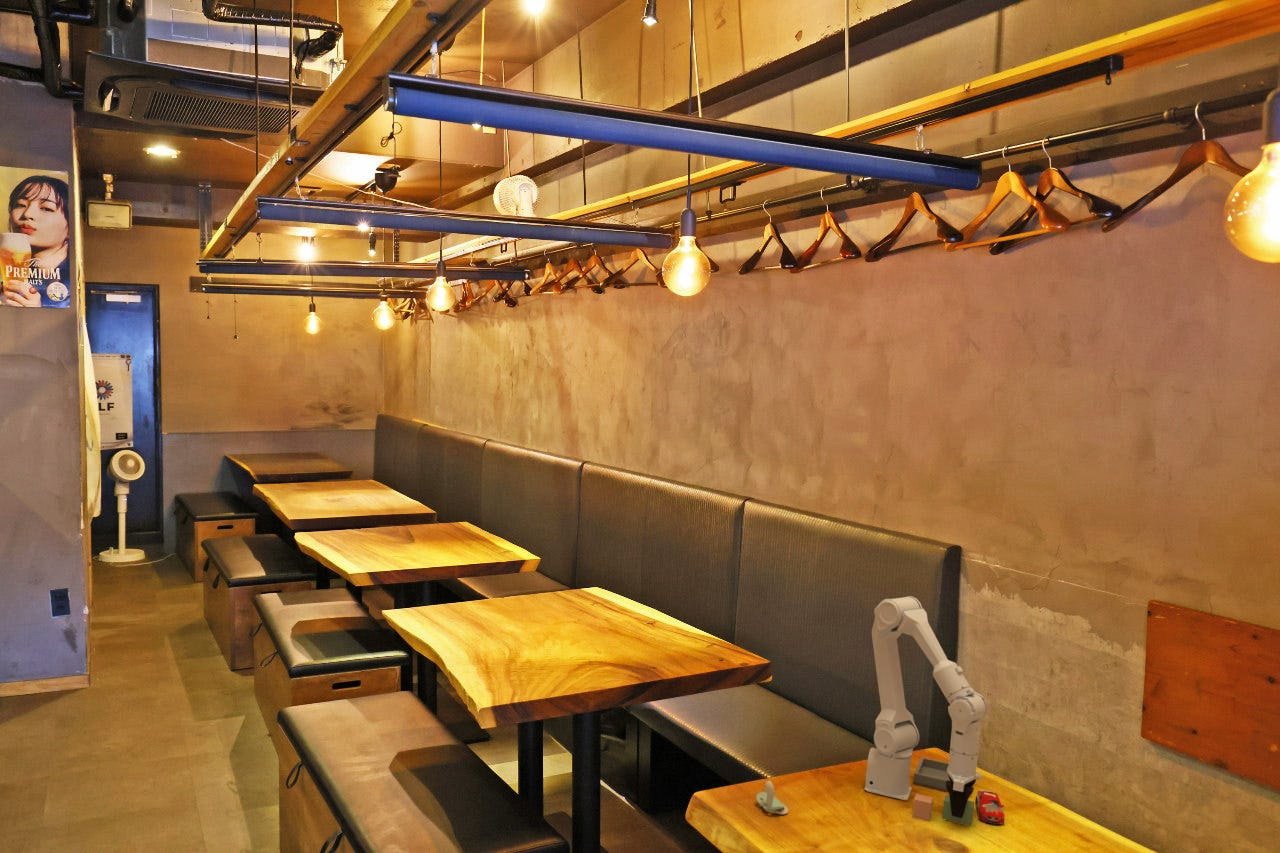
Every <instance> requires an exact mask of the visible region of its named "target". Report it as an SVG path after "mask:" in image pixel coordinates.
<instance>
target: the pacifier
mask: <svg viewBox="0 0 1280 853" xmlns="http://www.w3.org/2000/svg"><path fill="white" fill-rule="evenodd" d="M764 790H765V791H760V792H758V793H757V794H756V801H757V803H758V805H760V806H761V807H763V808H762V809H763V810H764V811H766V812H768V813H770V814H778V815H786V814H788V813H789V809H788V807H787V806H786V805H785V804H783V803H782V802H781V801H780V800H779V799H778V798H776V797H775V795H776V792H775V787H774V784H773V783H772V781H771V780H767V781H766V782H765V784H764ZM780 809H781V810H780Z"/></svg>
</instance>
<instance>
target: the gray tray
mask: <svg viewBox="0 0 1280 853" xmlns="http://www.w3.org/2000/svg"><path fill="white" fill-rule="evenodd" d="M948 764H949V762H946V761H943V760H941V761H940V760H936V759H932V758H928V757H923V756H921V757H920V758H919V761H918V763H917V766H916V768H915V770H914V772H913V777H912V778H913V779H912V780H913V781H912V784H913V785H915V786H920V787H925V788H929V789H931V790H932V789H933V790H937V791H942V792H946V793H948V790H947V788H946V781H947V780H948V781H950V779H949V776H948V775H949V774H948V773H947V767H948Z"/></svg>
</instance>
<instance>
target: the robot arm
mask: <svg viewBox="0 0 1280 853" xmlns="http://www.w3.org/2000/svg"><path fill="white" fill-rule="evenodd" d="M873 611H874V612H873V613H874V622H873V624H872V628H871V637H872V638H871V639H872V647H873V653H874V655H873V657H874V663H875V670H876V678H877V685H878V693H879V695H878V696H879V702H880V712H879V714H878V715H877V717H876V718H875V720H874V721H875V723H874V724H875V730H874V734H873V742H874V745H875V747H876V748H875V747H871V748H870V749H869V751H868V752H869V753H868V757H867V764H866V773H865V785H864V791H865V790H866V791H865V792H869V793H871V794H877V795H882V796H885V797H888V798H894V799H897V800H901V801H908V799H909V797H910V795H911V793H912V790H913V788H912V786H909V785H910V776H911V763H912V754H913V751H914V748H915V747H917V745H918V744H919V742H920V733H919V729H918V728H917V726H916V724H915V720H914V715H913V714H912V713H911V712H910V711H909V710H908V709H907V706H906V705H907V704H906V699H905V691H904V684H903V683H904V682H903V677H902V669H901V661H900V660H901V659H900V654H899V646H898V638H899V637H901V635H902V634H905V635H908V636H911V637H913V638H914V640H915V642H916V643H917V644H918V646H919V648H920V649H921V651H923V653H924V655H925V657H926V658H927V659H928V661H929V662H930V664H931V665H932V667H933V671H932V677H933V678H934V680H935V682H936V684H937V685H938V687H939V688H940V690H941V692H942V694H943V695H944V697H945V699H946V700H947V703H949V705H948V706H947V709H948V710H947V712H948V715H949V717H950V719H951V735H950V745H949V756H948V763H949V764H948V767H947V773H948V774H949V775H948V776H949V779H950V781H948V780H947V781H946V788H947V790H948V792H947V793H948V796H949V797H950V804H951V813H952V816H955V817H959V818H962V817H963V814H964V811H965V807H966V803H967V801H968V800H969V799H970V798H971V795H972V794H973V792H974V790H975V788H974V787H973V786H974V785H975V783H976V782H977V780H981V779H982V776H983V775H982V773H981V772H978V771H977V768H978V758H979V756H978V755H979V747H980V738H981V737H980V735H981V725H982V721H981V720H982V719H984V718H985V717H986V715H987V713H988V704H987V702H986V699H985V698H984V696H983V695H982V694H980V693H978V692H976V691H975V690H974V688H972V687H971V685H970V683H969V682H968V680H967V679H966V677H965V676H964V674H963V672H964V670H963V668H962V667H961V666H959V665H958V664H957V663H956V662H954V661H952V660H949V659H948V658H947V655H946V654H945V652H944V650H943V648H942V646H941V645H940V644H941V643H939V640H938V639H937V637H936V635H935V633H934V631H933V629H932V627H931V625H930V623H929V620H928V613H927V612H926V610H925V609H924V608H923V606H922V604H921V602H920V601H919V600H918V598H917V597H915V596H911V595H910V596H909V595H908V596H905V597H896V598H885V599H883V600H881V601H879V604H877V606H876V607H875V608H874V609H873Z"/></svg>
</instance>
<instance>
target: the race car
mask: <svg viewBox="0 0 1280 853" xmlns="http://www.w3.org/2000/svg"><path fill="white" fill-rule="evenodd" d="M974 800H975V801H974V805H975V808H976V811H977V816H978V819H979V821H983V822H986V823H989V824H995V825H1004V824H1005V819H1006V818H1005V813H1004V809H1003V808H1004V807H1005V805H1004V804H1002V803H1001V799H1000V797H999V795H998V793H996V792H994V791H989V790H986V789H985V790H984V789H979V790H978V791H977V792H976V795H975V799H974Z"/></svg>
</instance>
